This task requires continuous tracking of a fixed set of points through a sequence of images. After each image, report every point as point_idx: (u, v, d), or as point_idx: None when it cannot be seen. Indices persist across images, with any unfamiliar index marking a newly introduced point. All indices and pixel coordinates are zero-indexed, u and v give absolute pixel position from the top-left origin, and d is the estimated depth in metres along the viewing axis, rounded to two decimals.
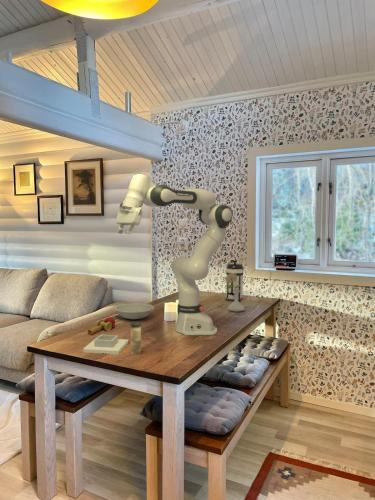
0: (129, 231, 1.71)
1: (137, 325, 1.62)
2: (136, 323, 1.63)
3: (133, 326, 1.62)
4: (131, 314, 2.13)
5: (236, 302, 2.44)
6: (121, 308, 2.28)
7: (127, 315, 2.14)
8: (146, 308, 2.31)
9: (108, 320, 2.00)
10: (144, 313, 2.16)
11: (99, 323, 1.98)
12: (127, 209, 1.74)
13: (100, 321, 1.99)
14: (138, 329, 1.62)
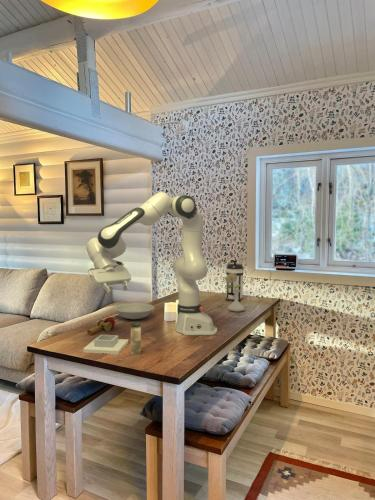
0: (107, 290, 1.67)
1: (137, 325, 1.62)
2: (136, 323, 1.63)
3: (133, 326, 1.62)
4: (131, 314, 2.13)
5: (236, 302, 2.44)
6: (121, 308, 2.28)
7: (127, 315, 2.14)
8: (146, 308, 2.31)
9: (108, 320, 2.00)
10: (144, 313, 2.16)
11: (99, 323, 1.98)
12: None
13: (100, 321, 1.99)
14: (138, 329, 1.62)
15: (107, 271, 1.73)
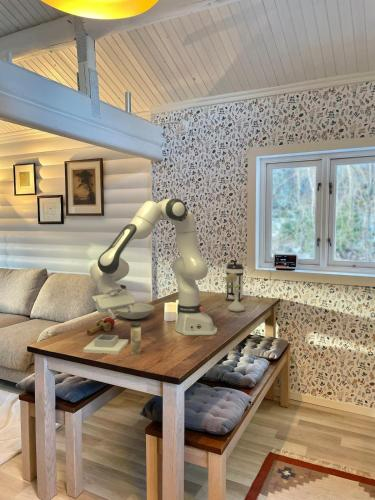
0: (111, 315, 1.66)
1: (137, 325, 1.62)
2: (136, 323, 1.63)
3: (133, 326, 1.62)
4: None
5: (236, 302, 2.44)
6: None
7: (127, 315, 2.14)
8: (146, 308, 2.31)
9: (107, 320, 2.00)
10: (144, 313, 2.16)
11: (98, 323, 1.98)
12: None
13: (99, 321, 1.98)
14: (138, 329, 1.62)
15: (111, 296, 1.72)
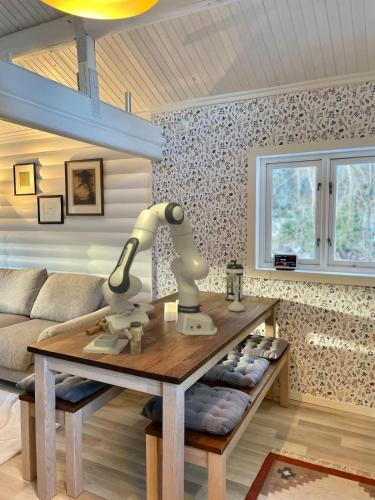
0: (129, 336, 1.62)
1: (137, 325, 1.62)
2: (136, 323, 1.63)
3: (133, 326, 1.62)
4: None
5: (236, 302, 2.44)
6: None
7: None
8: (146, 308, 2.31)
9: None
10: None
11: (98, 323, 1.97)
12: None
13: (99, 321, 1.98)
14: (138, 329, 1.62)
15: (124, 316, 1.66)
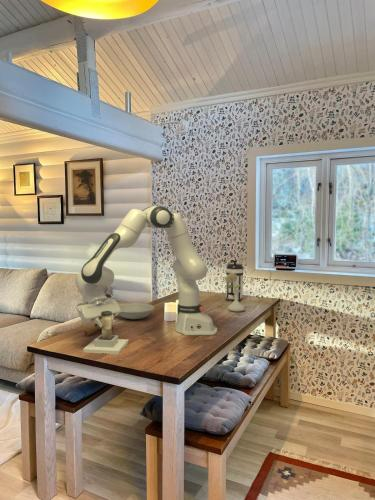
0: (99, 324, 1.68)
1: (107, 314, 1.68)
2: (107, 312, 1.70)
3: (103, 315, 1.68)
4: (131, 314, 2.13)
5: (236, 302, 2.44)
6: (121, 308, 2.28)
7: (127, 315, 2.14)
8: (146, 308, 2.31)
9: None
10: (144, 313, 2.16)
11: (96, 324, 1.96)
12: None
13: None
14: (108, 318, 1.69)
15: (96, 305, 1.72)
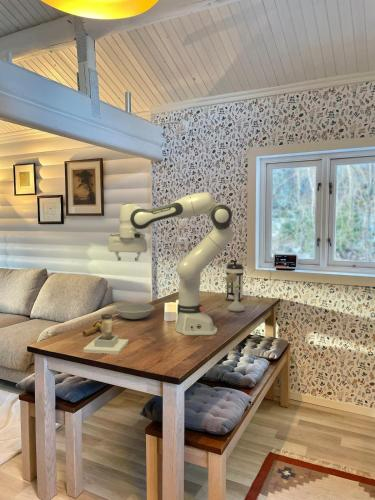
0: None
1: (107, 317, 1.68)
2: (107, 315, 1.70)
3: (104, 318, 1.68)
4: (131, 314, 2.13)
5: (236, 302, 2.44)
6: (121, 308, 2.28)
7: (127, 315, 2.14)
8: (146, 308, 2.31)
9: None
10: (144, 313, 2.16)
11: (95, 324, 1.96)
12: None
13: (96, 322, 1.96)
14: (108, 321, 1.69)
15: (123, 241, 1.94)
